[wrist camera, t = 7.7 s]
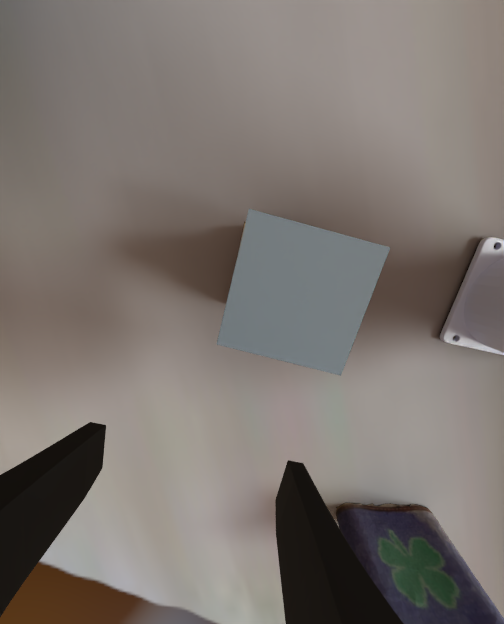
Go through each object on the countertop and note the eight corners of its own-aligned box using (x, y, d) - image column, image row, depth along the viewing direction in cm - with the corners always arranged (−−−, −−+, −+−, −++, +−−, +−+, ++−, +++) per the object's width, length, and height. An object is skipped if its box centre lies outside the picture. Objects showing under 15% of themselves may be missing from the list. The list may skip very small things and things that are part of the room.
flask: (432, 504, 23) (581, 714, 12) (426, 527, 23) (563, 745, 13) (336, 500, 23) (403, 706, 12) (332, 523, 24) (394, 737, 13)
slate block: (340, 250, 13) (390, 247, 8) (312, 333, 14) (340, 375, 9) (252, 226, 13) (249, 208, 8) (230, 313, 14) (216, 344, 9)
